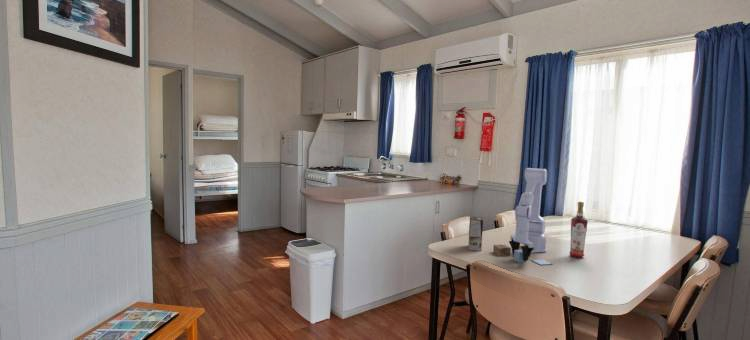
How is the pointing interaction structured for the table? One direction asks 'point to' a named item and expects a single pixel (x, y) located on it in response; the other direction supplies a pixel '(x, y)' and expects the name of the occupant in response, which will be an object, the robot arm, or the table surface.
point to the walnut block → (501, 250)
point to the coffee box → (475, 233)
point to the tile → (541, 262)
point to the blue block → (518, 256)
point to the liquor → (578, 233)
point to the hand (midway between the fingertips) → (520, 258)
